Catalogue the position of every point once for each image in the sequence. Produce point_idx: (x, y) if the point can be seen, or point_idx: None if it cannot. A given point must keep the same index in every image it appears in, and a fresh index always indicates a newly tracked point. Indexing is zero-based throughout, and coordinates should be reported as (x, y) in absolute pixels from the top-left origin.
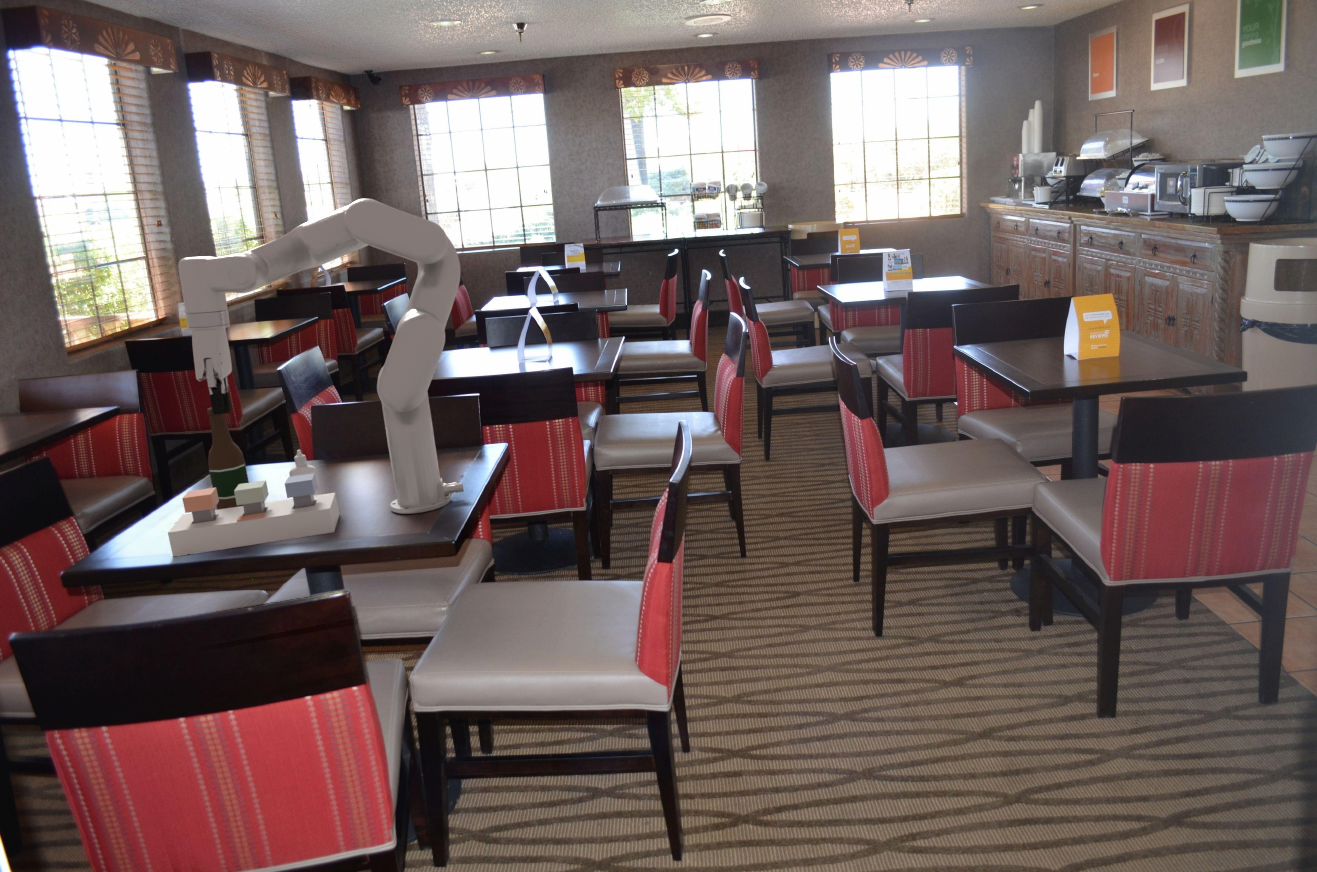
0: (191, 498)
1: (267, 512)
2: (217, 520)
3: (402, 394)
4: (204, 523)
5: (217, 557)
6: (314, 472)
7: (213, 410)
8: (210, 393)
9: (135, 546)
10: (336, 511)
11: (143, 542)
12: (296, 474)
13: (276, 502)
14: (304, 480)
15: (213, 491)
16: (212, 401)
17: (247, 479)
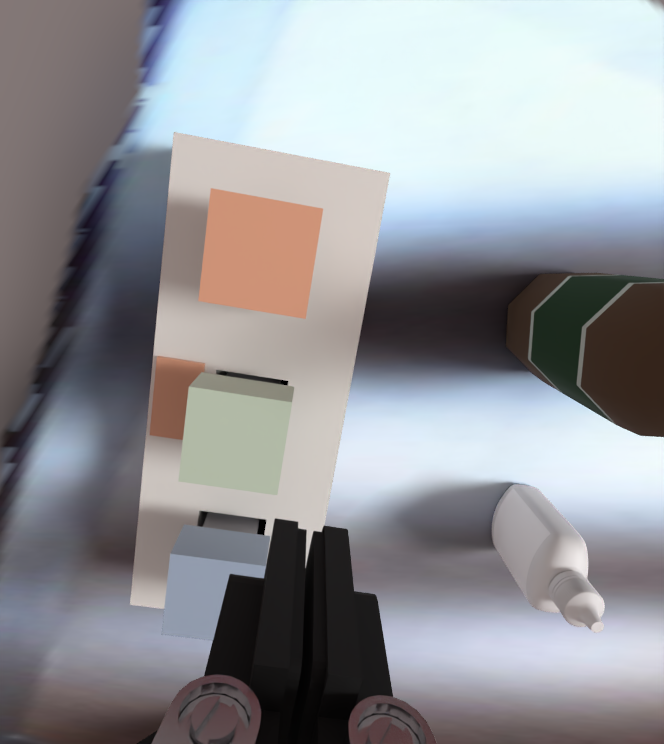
0: (208, 224)
1: None
2: None
3: None
4: None
5: (110, 277)
6: (528, 600)
7: (271, 541)
8: (174, 700)
9: (403, 14)
10: None
11: (433, 38)
12: (537, 551)
13: (315, 470)
14: (167, 613)
15: (249, 309)
16: (261, 609)
17: (579, 402)
